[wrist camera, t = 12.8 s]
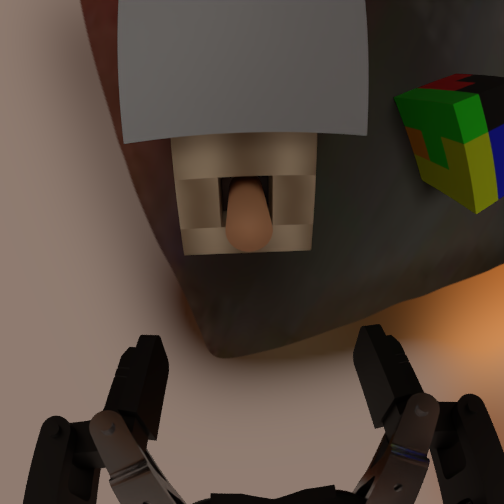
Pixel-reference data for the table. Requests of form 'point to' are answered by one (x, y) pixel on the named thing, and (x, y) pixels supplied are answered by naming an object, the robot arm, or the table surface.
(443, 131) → the puzzle toy
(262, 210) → the peg
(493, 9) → the table surface
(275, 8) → the grey small table
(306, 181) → the socket block
